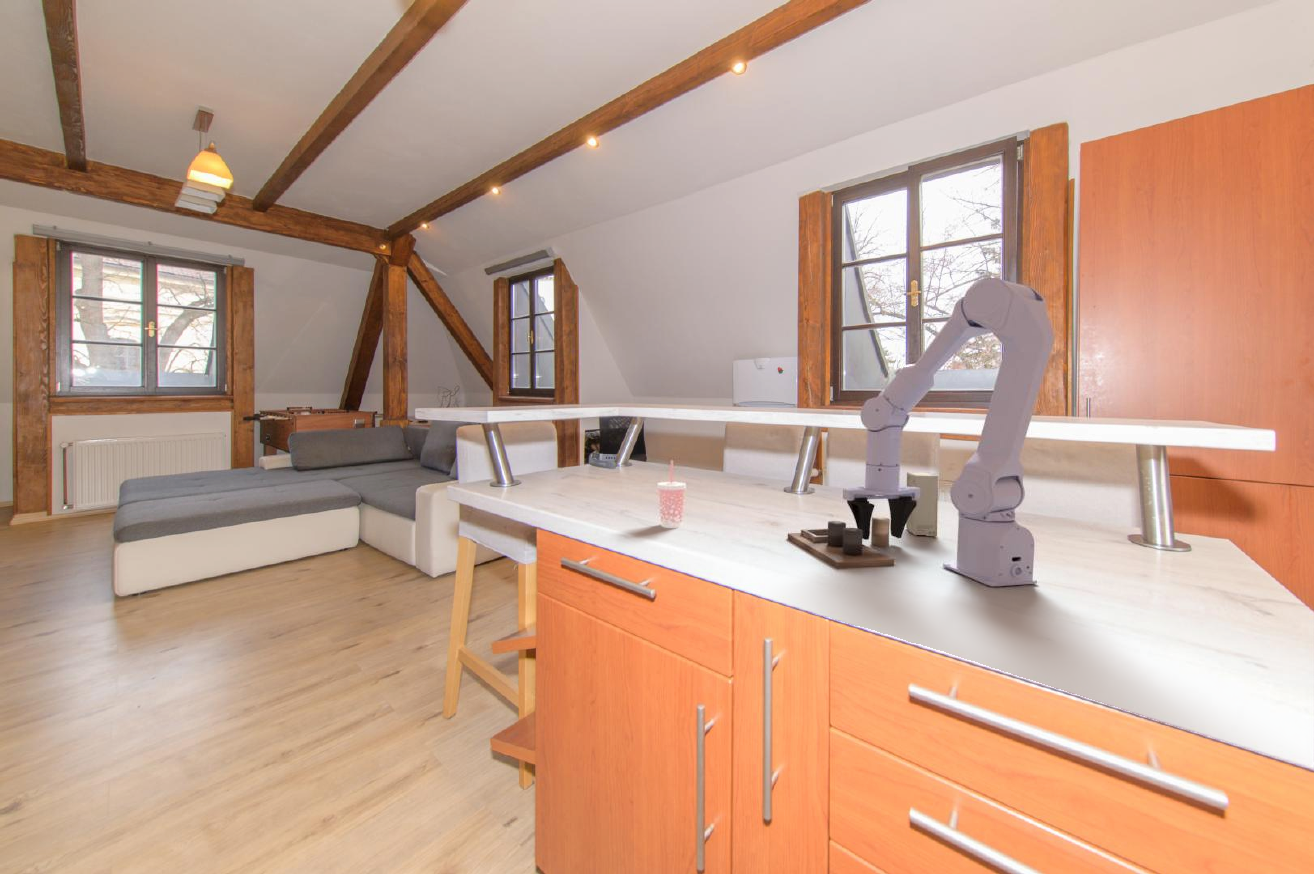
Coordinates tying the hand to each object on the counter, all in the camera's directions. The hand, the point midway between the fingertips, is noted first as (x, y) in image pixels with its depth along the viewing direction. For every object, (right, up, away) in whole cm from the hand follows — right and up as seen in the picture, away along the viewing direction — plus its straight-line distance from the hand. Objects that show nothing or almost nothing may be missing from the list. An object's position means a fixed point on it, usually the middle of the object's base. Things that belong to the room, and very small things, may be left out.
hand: (880, 537), depth 92 cm
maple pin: (0, -1, 0) cm, 1 cm away
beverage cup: (-38, -1, +14) cm, 41 cm away
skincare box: (+13, -1, +10) cm, 16 cm away
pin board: (-9, -2, -4) cm, 10 cm away
